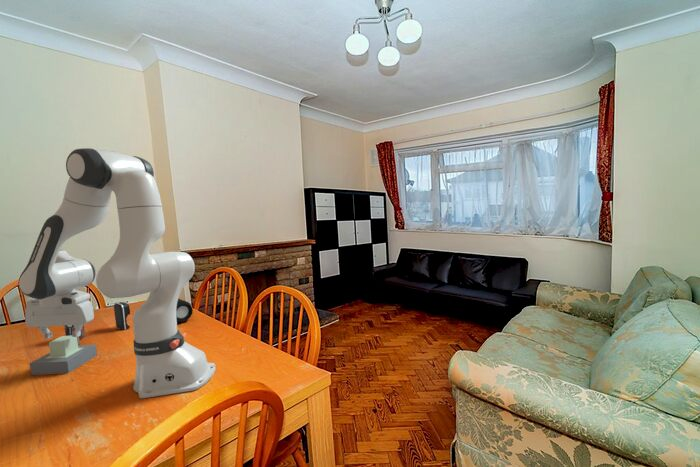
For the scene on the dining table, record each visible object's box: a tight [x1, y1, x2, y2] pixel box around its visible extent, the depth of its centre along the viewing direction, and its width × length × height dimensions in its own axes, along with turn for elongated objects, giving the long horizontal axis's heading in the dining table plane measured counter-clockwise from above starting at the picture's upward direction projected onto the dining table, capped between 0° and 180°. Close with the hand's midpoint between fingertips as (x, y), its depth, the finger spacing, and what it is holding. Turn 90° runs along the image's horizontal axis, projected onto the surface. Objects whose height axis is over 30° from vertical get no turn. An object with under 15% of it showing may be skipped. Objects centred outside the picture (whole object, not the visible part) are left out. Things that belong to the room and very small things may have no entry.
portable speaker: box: [176, 298, 194, 324], centre depth 150 cm, size 26×10×10 cm, turn 52°
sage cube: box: [48, 335, 78, 357], centre depth 107 cm, size 5×5×5 cm
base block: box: [29, 344, 98, 376], centre depth 108 cm, size 12×12×4 cm
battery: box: [113, 301, 131, 331], centre depth 139 cm, size 7×4×11 cm, turn 59°
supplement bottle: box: [63, 324, 86, 341], centre depth 129 cm, size 6×6×11 cm
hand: (62, 337), depth 107 cm, fingers open, 8 cm apart
